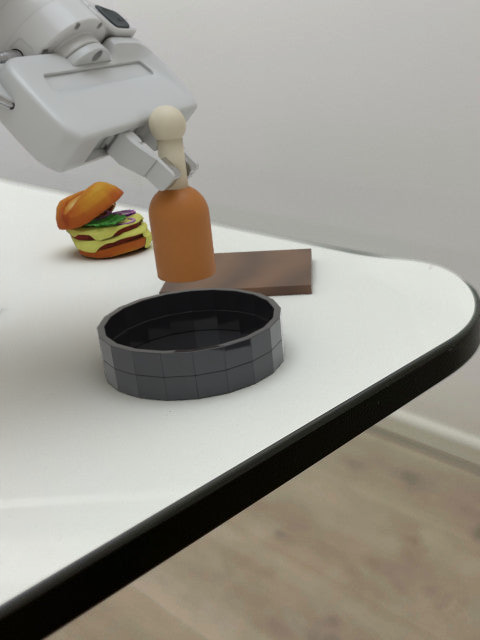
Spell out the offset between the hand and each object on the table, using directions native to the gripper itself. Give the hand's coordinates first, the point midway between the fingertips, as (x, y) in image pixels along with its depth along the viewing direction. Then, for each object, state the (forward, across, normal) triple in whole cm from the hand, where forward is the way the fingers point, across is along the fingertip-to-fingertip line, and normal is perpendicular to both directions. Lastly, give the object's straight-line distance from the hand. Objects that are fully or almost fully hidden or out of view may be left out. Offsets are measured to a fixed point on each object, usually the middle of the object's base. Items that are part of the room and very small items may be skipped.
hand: (182, 178), depth 60 cm
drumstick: (+5, 0, +6) cm, 8 cm away
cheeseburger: (-8, +32, +32) cm, 46 cm away
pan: (+11, -1, +12) cm, 16 cm away
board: (+8, +22, +15) cm, 28 cm away
